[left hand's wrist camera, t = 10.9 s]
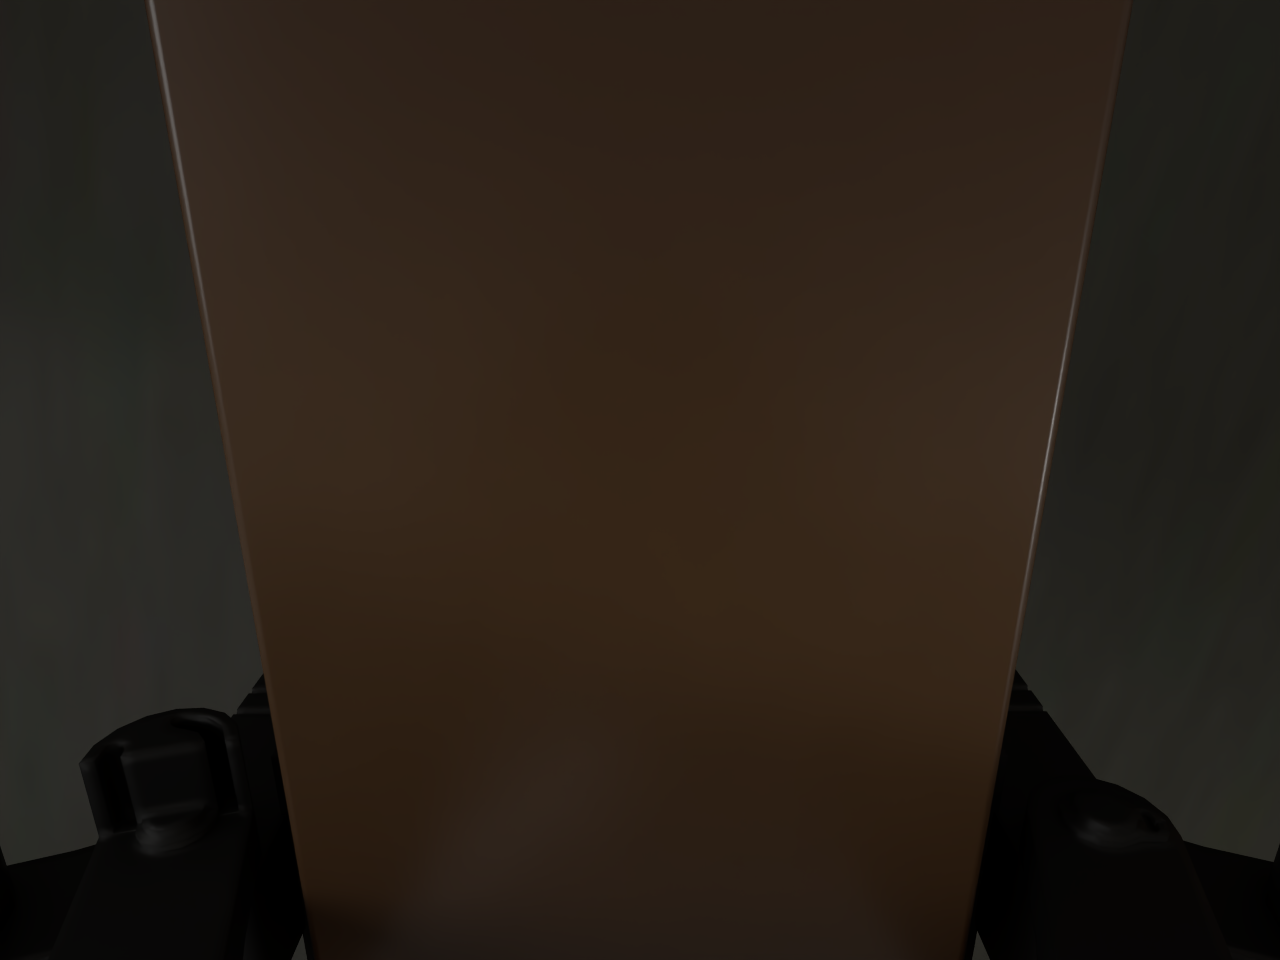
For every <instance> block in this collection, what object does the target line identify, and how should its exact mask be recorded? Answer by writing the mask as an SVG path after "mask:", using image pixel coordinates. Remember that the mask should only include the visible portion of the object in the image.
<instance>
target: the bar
mask: <svg viewBox="0 0 1280 960" xmlns="http://www.w3.org/2000/svg"><path fill="white" fill-rule="evenodd" d="M144 2H145V7H146V13H147V19H148V24H149V30H150V35H151V41H152V47H153V52H154V58H155V64H156V69H157V75H158V81H159V86H160V92H161V98H162V103H163V109H164V114H165V120H166V126H167V131H168V137H169V143H170V148H171V154H172V160H173V165H174V171H175V176H176V182H177V188H178V193H179V199H180V205H181V210H182V216H183V222H184V227H185V233H186V238H187V244H188V250H189V255H190V261H191V267H192V272H193V278H194V284H195V289H196V295H197V301H198V306H199V312H200V317H201V323H202V329H203V334H204V340H205V346H206V351H207V357H208V363H209V368H210V374H211V379H212V385H213V391H214V396H215V402H216V408H217V413H218V419H219V425H220V430H221V436H222V442H223V447H224V453H225V458H226V464H227V470H228V475H229V481H230V487H231V492H232V498H233V504H234V509H235V515H236V520H237V526H238V532H239V537H240V543H241V549H242V554H243V560H244V566H245V571H246V577H247V582H248V588H249V594H250V599H251V605H252V611H253V616H254V622H255V628H256V633H257V639H258V645H259V650H260V656H261V661H262V667H263V673H264V678H265V684H266V690H267V695H268V701H269V707H270V712H271V718H272V723H273V729H274V735H275V740H276V746H277V752H278V757H279V763H280V769H281V774H282V780H283V786H284V791H285V797H286V802H287V808H288V814H289V819H290V825H291V831H292V836H293V842H294V848H295V853H296V859H297V864H298V870H299V876H300V881H301V887H302V893H303V898H304V904H305V910H306V915H307V921H308V927H309V932H310V938H311V943H312V949H313V955H314V960H964V958H965V952H966V946H967V941H968V935H969V929H970V924H971V918H972V912H973V907H974V901H975V895H976V890H977V884H978V878H979V873H980V867H981V861H982V856H983V850H984V844H985V839H986V833H987V827H988V822H989V816H990V810H991V805H992V799H993V793H994V788H995V782H996V776H997V771H998V765H999V759H1000V753H1001V748H1002V742H1003V736H1004V731H1005V725H1006V719H1007V714H1008V708H1009V702H1010V697H1011V691H1012V685H1013V680H1014V674H1015V668H1016V663H1017V657H1018V651H1019V646H1020V640H1021V634H1022V629H1023V623H1024V617H1025V612H1026V606H1027V600H1028V595H1029V589H1030V583H1031V578H1032V572H1033V566H1034V560H1035V555H1036V549H1037V543H1038V538H1039V532H1040V526H1041V521H1042V515H1043V509H1044V504H1045V498H1046V492H1047V487H1048V481H1049V475H1050V470H1051V464H1052V458H1053V453H1054V447H1055V441H1056V436H1057V430H1058V424H1059V419H1060V413H1061V407H1062V402H1063V396H1064V390H1065V385H1066V379H1067V373H1068V367H1069V362H1070V356H1071V350H1072V345H1073V339H1074V333H1075V328H1076V322H1077V316H1078V311H1079V305H1080V299H1081V294H1082V288H1083V282H1084V277H1085V271H1086V265H1087V260H1088V254H1089V248H1090V243H1091V237H1092V231H1093V226H1094V220H1095V214H1096V209H1097V203H1098V197H1099V192H1100V186H1101V180H1102V174H1103V169H1104V163H1105V157H1106V152H1107V146H1108V140H1109V135H1110V129H1111V123H1112V118H1113V112H1114V106H1115V101H1116V95H1117V89H1118V84H1119V78H1120V72H1121V67H1122V61H1123V55H1124V50H1125V44H1126V38H1127V33H1128V27H1129V21H1130V16H1131V10H1132V4H1133V0H144Z"/></svg>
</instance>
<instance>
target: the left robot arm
mask: <svg viewBox="0 0 1280 960" xmlns="http://www.w3.org/2000/svg"><path fill="white" fill-rule="evenodd" d="M79 766H80V769H81V773H82V777H83V780H84V784H85V787H86V791H87V795H88V798H89V802H90V806H91V809H92V813H93V816H94V820H95V824H96V827H97V831H98V834H99V839H98V841H97V844H96V845H92V846H89V847H86V848H82V849H79V850H75V851H71V852H66V853H62V854H57V855H53V856H48V857H44V858H40V859H35V860H31V861H26V862H22V863H17V864H13V865H8V866H7V865H6V862H5V859H4V856H3V853H2V850H1V847H0V960H291V959H292V957H293V954H294V952H295V950H296V947H297V945H298V943H299V940H300V938H301V936H302V934H303V938H304V943H305V949H306V954H307V960H314V955H313V949H312V943H311V938H310V932H309V927H308V921H307V915H306V910H305V904H304V898H303V893H302V887H301V881H300V876H299V870H298V864H297V859H296V853H295V848H294V842H293V836H292V831H291V825H290V819H289V814H288V808H287V802H286V797H285V791H284V786H283V780H282V774H281V769H280V763H279V757H278V752H277V746H276V740H275V735H274V729H273V723H272V718H271V712H270V707H269V701H268V695H267V690H266V684H265V678H264V673H263V675H262V676H261V677H260V679H259V680H258V681H257V683H256V684H255V686H254V687H253V688H252V693H249V694H248V695H247V697H246V698H245V699H244V701H243V702H242V703H241V705H240V706H239V707H238V709H237V714H233V716H232V717H231V718H230V717H229V716H228V715H227V714H226V713H224V712H219V711H215V710H211V709H206V708H188V709H174V710H170V711H166V712H162V713H158V714H154V715H150V716H146V717H144V718H141V719H139V720H137V721H134V722H132V723H130V724H128V725H125V726H123V727H121V728H118V729H117V730H115V731H114V732H112V733H111V734H109V735H108V736H107V737H105V738H104V739H102V740H101V741H99V742H98V743H96V744H95V745H94V746H93V747H92V748H91V749H90V751H89V752H88V753H87V754H86V756H85V757H84V758H83V759H82V760H81V762H80V763H79ZM977 931H978V933H979V935H980V938H981V940H982V942H983V944H984V947H985V949H986V951H987V954H988V956H989V958H990V960H1280V845H1279V848H1278V851H1277V854H1276V857H1275V860H1274V862H1270V861H1266V860H1262V859H1257V858H1253V857H1248V856H1244V855H1239V854H1235V853H1230V852H1226V851H1221V850H1217V849H1212V848H1208V847H1203V846H1200V845H1197V844H1193V843H1190V842H1186V841H1183V840H1182V837H1181V835H1180V834H1179V832H1178V831H1177V830H1176V828H1175V827H1174V825H1173V824H1172V822H1171V821H1170V819H1169V818H1168V817H1167V816H1166V815H1165V814H1164V813H1163V812H1161V811H1160V810H1159V809H1157V808H1156V807H1155V806H1154V805H1152V804H1151V803H1150V802H1149V801H1147V800H1146V799H1145V798H1143V797H1141V796H1139V795H1137V794H1135V793H1133V792H1131V791H1129V790H1127V789H1125V788H1123V787H1121V786H1119V785H1116V784H1113V783H1109V782H1105V781H1102V780H1098V779H1096V778H1095V777H1094V775H1093V774H1092V773H1091V771H1090V770H1089V768H1088V767H1087V766H1086V764H1085V763H1084V762H1083V760H1082V759H1081V758H1080V756H1079V755H1078V754H1077V752H1076V751H1075V749H1074V748H1073V747H1072V745H1071V744H1070V743H1069V741H1068V740H1067V739H1066V737H1065V736H1064V734H1063V733H1062V732H1061V730H1060V729H1059V728H1058V726H1057V725H1056V724H1055V722H1054V721H1053V720H1052V718H1051V717H1050V715H1049V714H1048V713H1047V711H1043V706H1042V705H1041V703H1040V702H1039V701H1038V699H1037V698H1036V696H1035V695H1034V694H1033V692H1032V691H1031V690H1028V688H1027V684H1026V683H1025V682H1024V680H1023V679H1022V677H1021V676H1020V675H1019V673H1018V672H1017V671H1016V669H1015V674H1014V680H1013V685H1012V691H1011V697H1010V702H1009V708H1008V714H1007V719H1006V725H1005V731H1004V736H1003V742H1002V748H1001V753H1000V759H999V765H998V771H997V776H996V782H995V788H994V793H993V799H992V805H991V810H990V816H989V822H988V827H987V833H986V839H985V844H984V850H983V856H982V861H981V867H980V873H979V878H978V884H977V890H976V895H975V901H974V907H973V912H972V918H971V924H970V929H969V935H968V941H967V946H966V952H965V958H964V960H972V956H973V951H974V945H975V940H976V934H977Z"/></svg>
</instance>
